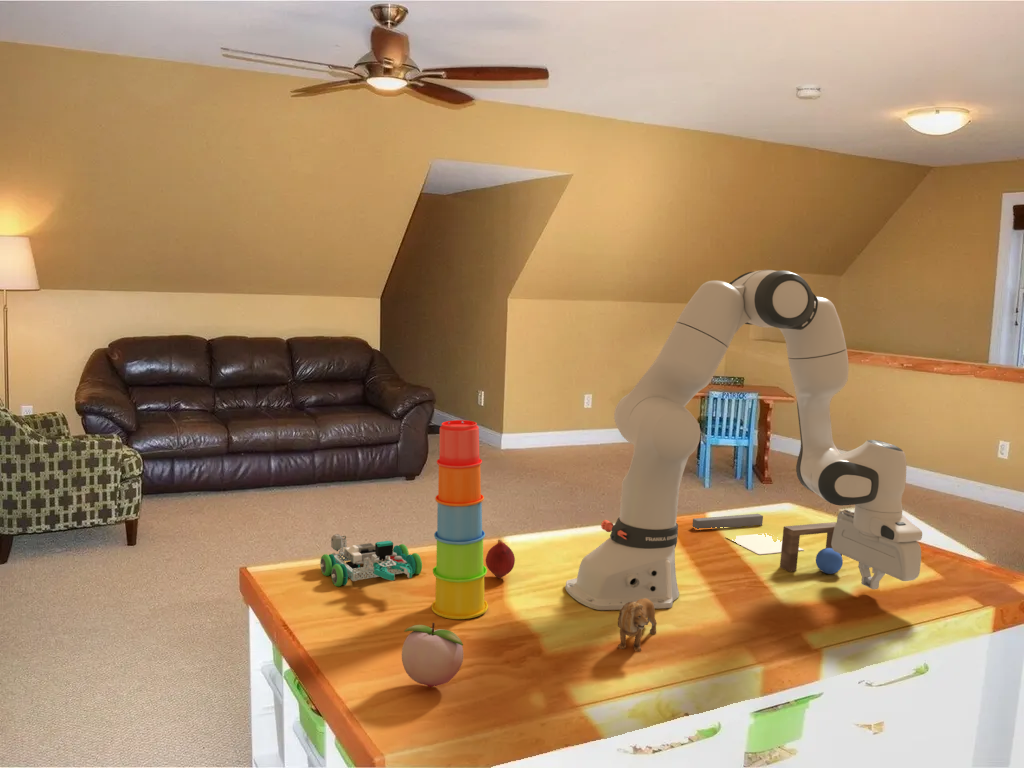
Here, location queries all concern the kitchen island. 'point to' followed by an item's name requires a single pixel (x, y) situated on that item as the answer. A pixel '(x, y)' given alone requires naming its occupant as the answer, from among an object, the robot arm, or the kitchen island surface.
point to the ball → (829, 561)
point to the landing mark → (760, 544)
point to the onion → (500, 559)
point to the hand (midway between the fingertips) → (869, 586)
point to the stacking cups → (459, 524)
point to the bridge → (792, 541)
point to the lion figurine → (636, 621)
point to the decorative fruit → (431, 655)
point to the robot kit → (368, 561)
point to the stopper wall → (728, 521)
